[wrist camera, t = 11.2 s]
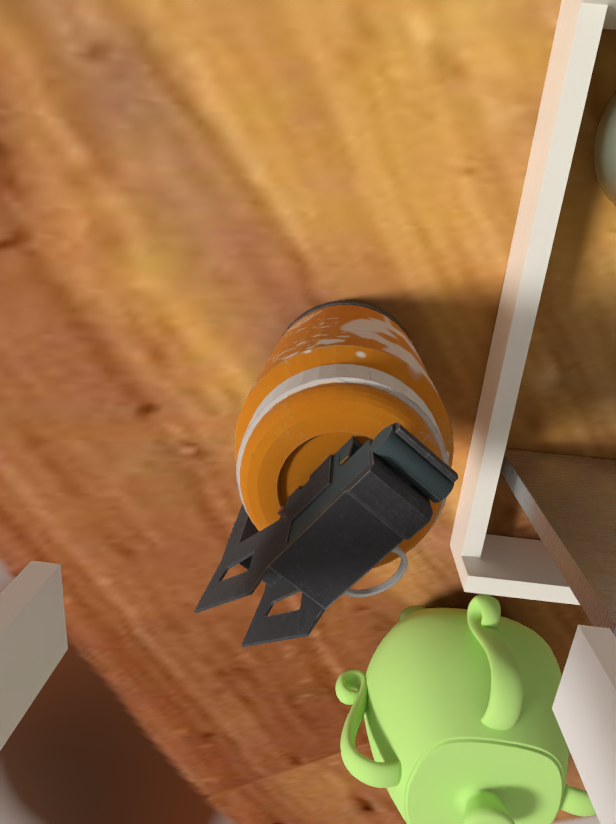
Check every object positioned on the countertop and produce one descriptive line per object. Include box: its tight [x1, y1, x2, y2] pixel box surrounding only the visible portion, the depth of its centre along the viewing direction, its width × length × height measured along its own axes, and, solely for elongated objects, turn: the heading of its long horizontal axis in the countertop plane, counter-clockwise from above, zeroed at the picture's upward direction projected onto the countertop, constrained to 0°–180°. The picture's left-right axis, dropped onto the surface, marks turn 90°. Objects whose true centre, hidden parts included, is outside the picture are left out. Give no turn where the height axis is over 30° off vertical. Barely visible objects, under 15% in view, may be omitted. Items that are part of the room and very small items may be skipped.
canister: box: [194, 300, 458, 647], centre depth 25 cm, size 9×11×20 cm
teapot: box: [336, 594, 596, 824], centre depth 35 cm, size 16×14×13 cm
